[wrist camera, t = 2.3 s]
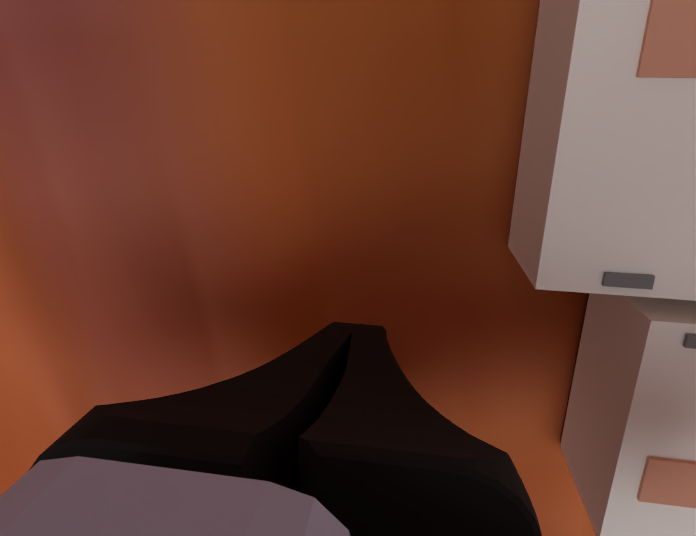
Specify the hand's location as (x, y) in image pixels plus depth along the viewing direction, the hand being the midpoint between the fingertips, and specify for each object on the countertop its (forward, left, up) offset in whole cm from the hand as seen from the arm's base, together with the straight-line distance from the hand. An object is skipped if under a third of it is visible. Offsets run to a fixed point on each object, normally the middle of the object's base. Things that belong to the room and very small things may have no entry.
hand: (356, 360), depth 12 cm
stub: (-7, 0, -1) cm, 8 cm away
